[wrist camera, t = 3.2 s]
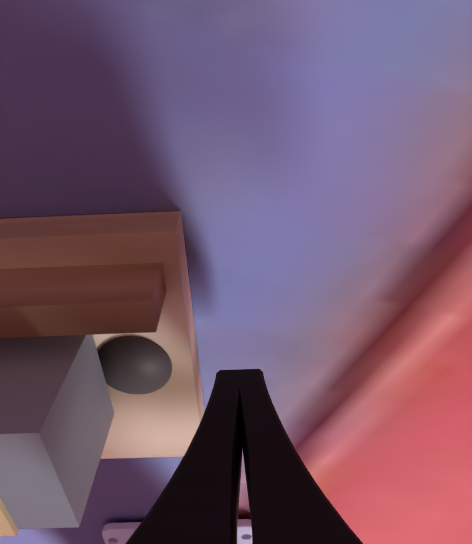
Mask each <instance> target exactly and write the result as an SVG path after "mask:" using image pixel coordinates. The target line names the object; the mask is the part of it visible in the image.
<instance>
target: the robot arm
mask: <svg viewBox="0 0 472 544" xmlns="http://www.w3.org/2000/svg"><path fill="white" fill-rule="evenodd" d="M242 448H243V455H244V464H245V473H246V481H247V490H248V498H249V507H250V516H251V520H250V519H238V507H239V493H240V478H241V463H242ZM102 537H103V539H104V542H105V544H363V543H362V542H361V541H360V539H359V538H358V537H357V536H356V535H355V534H354V532H353V531H352V530H351V529H350V528H349V526H348V525H347V524H346V523H345V521H344V520H343V519H342V517H341V516H340V515H339V513H338V512H337V511H336V509H335V508H334V507H333V506H332V504H331V503H330V502H329V500H328V499H327V498H326V496H325V495H324V494H323V492H322V491H321V489H320V488H319V486H318V485H317V483H316V482H315V481H314V479H313V478H312V476H311V474H310V473H309V471H308V470H307V468H306V467H305V465H304V463H303V462H302V460H301V458H300V457H299V455H298V453H297V452H296V450H295V448H294V446H293V444H292V443H291V441H290V439H289V437H288V435H287V433H286V431H285V429H284V427H283V425H282V423H281V421H280V419H279V417H278V415H277V413H276V410H275V408H274V406H273V403H272V401H271V398H270V396H269V393H268V390H267V387H266V384H265V380H264V376H263V372H262V371H261V370H260V369H243V370H220V371H219V372H217V374H216V379H215V383H214V387H213V390H212V393H211V396H210V399H209V402H208V405H207V407H206V410H205V412H204V415H203V417H202V419H201V422H200V424H199V426H198V429H197V431H196V433H195V435H194V437H193V439H192V441H191V443H190V445H189V447H188V449H187V451H186V453H185V455H184V457H183V459H182V460H181V462H180V464H179V466H178V468H177V469H176V471H175V473H174V474H173V476H172V478H171V479H170V481H169V483H168V484H167V486H166V487H165V489H164V490H163V492H162V493H161V495H160V497H159V498H158V500H157V501H156V503H155V504H154V506H153V507H152V508H151V510H150V511H149V513H148V514H147V515H146V517H145V518H144V519H143V521H142V522H124V523H108V524H106V525H104V527H103V530H102Z"/></svg>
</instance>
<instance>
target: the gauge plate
mask: <svg viewBox="0 0 472 544" xmlns="http://www.w3.org/2000/svg"><path fill="white" fill-rule="evenodd" d="M68 335H93V338H94V341H95V345H96V349H97V352H98V356H99V359H100V363H101V367H102V370H103V374H104V377H105V381H106V384H107V388H108V392H109V395H110V399H111V402H112V406H113V410H114V417H113V420H112V423H111V426H110V430H109V433H108V436H107V439H106V443H105V446H104V449H103V452H102V456H101V459H116V458H147V457H179V456H184V455H185V453H186V451H187V449H188V447H189V445H190V443H191V441H192V439H193V437H194V435H195V433H196V431H197V429H198V426H199V424H200V422H201V419H202V417H203V415H204V412H205V411H204V402H203V394H202V385H201V377H200V369H199V360H198V352H197V343H196V335H195V326H194V318H193V309H192V301H191V292H190V284H189V276H188V267H187V259H186V250H185V242H184V233H183V225H182V216H181V211H169V212H145V213H122V214H98V215H74V216H51V217H27V218H4V219H0V338H14V337H41V336H68Z"/></svg>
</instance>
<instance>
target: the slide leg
mask: <svg viewBox="0 0 472 544" xmlns="http://www.w3.org/2000/svg"><path fill="white" fill-rule="evenodd" d="M113 417H114V410H113V406H112V402H111V399H110V395H109V392H108V388H107V384H106V381H105V377H104V374H103V370H102V367H101V363H100V359H99V356H98V352H97V349H96V345H95V341H94V338H93V335H68V336H41V337H14V338H0V536H16V534H17V532H18V530H19V529H38V528H72V527H80V524H81V521H82V517H83V514H84V511H85V508H86V504H87V501H88V498H89V495H90V491H91V488H92V485H93V482H94V478H95V475H96V472H97V469H98V465H99V462H100V459H101V456H102V452H103V449H104V446H105V443H106V439H107V436H108V433H109V430H110V426H111V423H112V420H113Z"/></svg>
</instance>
